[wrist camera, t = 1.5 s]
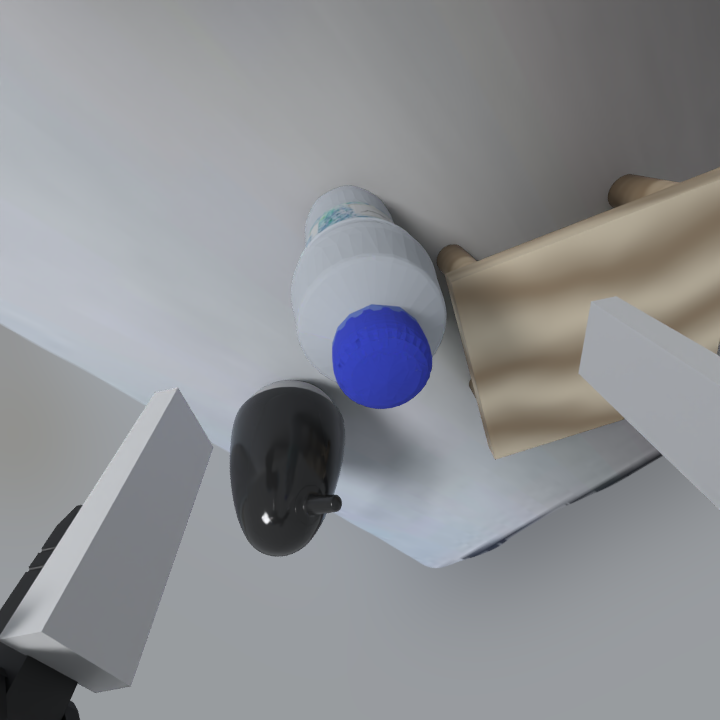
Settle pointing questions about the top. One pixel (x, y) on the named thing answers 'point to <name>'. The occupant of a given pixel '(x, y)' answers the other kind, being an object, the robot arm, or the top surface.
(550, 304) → the footstool
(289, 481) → the pump dispenser
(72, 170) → the top surface
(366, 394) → the bottle
